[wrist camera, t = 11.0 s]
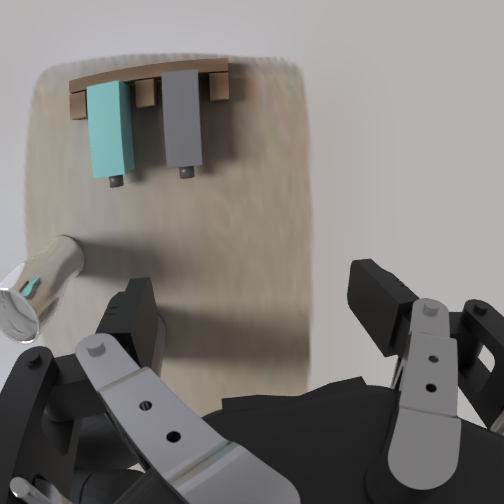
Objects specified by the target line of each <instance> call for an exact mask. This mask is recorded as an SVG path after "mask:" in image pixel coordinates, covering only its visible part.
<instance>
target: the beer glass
mask: <svg viewBox="0 0 504 504" xmlns="http://www.w3.org/2000/svg"><path fill="white" fill-rule="evenodd" d="M83 266H84V254H83V251H82V249H81V247H80V246H79V244H78V243H77V242H76V241H75V240H73V239H72V238H70V237H67V236H57V237H55V238H53V239H52V240H51V241H50V242H49V243H48V245H47V246H46V248H45V250H44V251H43V252H41V253H40V254H38V255H36V256H34V257H32V258H30V259H28V260H26V261H24V262H23V263H21V264H20V265H18V266H17V267H16V268H14V269H13V270H12V271H11V272H10V273H9V274H8V275H7V276H6V277H5V278H4V280H3V281H2V282H1V283H0V330H1V331H2V332H3V333H4V334H5V335H6V336H7V337H8V338H10V339H11V340H13V341H15V342H17V343H20V344H31V343H34V342H35V341H36V340H37V339H38V338H39V336H40V335H41V333H42V332H43V331H44V330H45V328H46V327H47V326H48V325H49V323H50V322H51V320H52V319H53V318H54V316H55V314H56V312H57V311H58V309H59V307H60V305H61V302H62V300H63V297H64V295H65V292H66V289H67V286H68V284H69V282H70V281H71V280H72V279H73V278H75V277H76V276H77V275H78V274H79V273H80V272H81V271H82V269H83Z"/></svg>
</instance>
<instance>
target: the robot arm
mask: <svg viewBox="0 0 504 504" xmlns="http://www.w3.org/2000/svg"><path fill="white" fill-rule="evenodd" d="M347 300H348V305H349V307H350V309H351V310H352V312H353V313H354V315H355V316H356V317H357V319H358V320H359V321H360V323H361V324H362V326H363V327H364V328H365V330H366V331H367V333H368V334H369V335H370V337H371V338H372V340H373V341H374V342H375V344H376V345H377V347H378V348H379V349H380V351H381V352H382V354H383V355H384V357H389V356H393V355H398V359H397V362H396V366H395V370H394V375H393V379H392V383H391V387H390V388H388V387H382V386H374V385H366V383H365V381H364V380H363V378H362V377H361V376H360V377H356V378H352V379H347V380H343V381H338V382H333V383H329V384H327V385H325V386H322V387H320V388H317V389H315V390H313V391H310V392H308V393H305V394H303V395H300V396H271V395H252V396H243V397H233V398H222V408H223V409H221V410H217V411H215V412H212V413H210V414H207V415H205V416H203V417H202V418H200V417H199V416H198V415H197V414H196V413H195V412H194V411H193V410H191V409H190V408H189V407H188V406H187V405H186V404H185V403H184V402H183V401H182V400H181V399H180V398H179V397H178V396H177V395H176V394H175V393H174V392H173V391H172V390H171V389H170V388H169V387H168V386H167V385H166V384H165V383H164V382H163V381H162V380H161V379H160V377H161V369H162V361H163V354H164V347H165V340H166V327H165V324H164V322H163V320H162V318H161V317H160V316H159V315H158V313H157V308H156V303H155V298H154V293H153V288H152V283H151V280H150V278H149V277H148V278H134V279H130V281H129V283H128V286H127V288H126V290H125V292H118V293H117V294H116V295H115V296H114V297H113V298H111V300H110V302H109V304H108V306H107V309H106V310H105V312H104V315H103V317H102V319H101V321H100V324H99V326H98V328H97V330H96V333H95V334H93V335H90V336H88V337H86V338H84V339H83V340H81V341H80V342H79V343H78V345H77V346H76V349H75V353H74V354H71V355H66V356H61V357H57V358H54V356H53V354H52V352H51V350H50V349H49V348H47V347H43V346H37V347H33V348H30V349H28V350H26V351H24V352H23V353H22V354H21V355H20V356H19V357H18V359H17V361H16V363H15V364H14V367H13V368H12V370H11V372H10V374H9V377H8V378H7V380H6V382H5V385H4V387H3V389H2V391H1V393H0V504H504V317H503V316H502V315H501V314H500V313H499V312H498V311H497V310H495V309H494V308H493V307H492V306H491V305H489V304H488V303H486V302H484V301H481V300H476V299H472V300H468V301H466V303H465V305H464V308H463V311H462V312H449V311H448V309H447V307H446V306H445V305H444V304H442V303H441V302H439V301H436V300H433V299H428V298H424V299H419V297H418V296H416V295H415V294H414V293H413V292H412V291H411V290H410V289H409V288H408V287H407V286H405V285H404V284H403V283H402V282H401V281H399V279H398V278H397V277H396V276H395V275H393V274H392V273H390V272H388V271H386V270H384V269H382V268H381V267H380V266H378V265H377V264H376V263H375V262H374V261H373V260H372V259H362V260H354V261H352V263H351V268H350V276H349V285H348V293H347ZM483 345H485V346H486V348H487V349H488V350H489V351H490V352H491V353H492V354H493V356H494V359H495V366H494V368H493V370H492V372H490V371H489V370H488V369H487V368H486V366H485V365H484V364H483V363H482V362H481V361H480V359H479V358H478V356H479V354H480V352H481V350H482V347H483ZM458 386H459V388H460V389H461V390H462V392H463V393H464V395H465V396H466V398H467V399H468V401H469V402H470V403H471V405H472V406H473V408H474V409H475V411H476V412H477V414H478V415H479V417H480V418H481V420H482V421H483V423H484V424H485V426H486V427H487V429H486V428H483V427H481V426H478V425H476V424H474V423H471V422H469V421H466V420H464V419H461V418H459V417H458V416H457V396H458V395H457V394H458ZM137 463H139V464H140V465H141V467H142V468H143V469H144V471H145V473H143V472H141V471H138V470H131V469H128V468H130V467H131V466H133V465H135V464H137Z"/></svg>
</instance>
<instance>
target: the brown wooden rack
mask: <svg viewBox="0 0 504 504" xmlns="http://www.w3.org/2000/svg"><path fill="white" fill-rule="evenodd" d="M194 69H198V74H199V76H209V86H210V102H213V101H228V100H229V78H228V58H220V59H201V60H188V61H177V62H168V63H159V64H152V65H145V66H138V67H132V68H126V69H121V70H115V71H110V72H105V73H100V74H96V75H91V76H87V77H83V78H79V79H75V80H71V81H69V91H70V93H71V95H70V119H71V120H80V119H85V118H88V108H87V87H89V86H93V85H98V84H102V83H107V82H112V81H117V80H119V81H121V82H123V83H125V84H127V85H128V84H134V83H135V88H136V107H137V108H140V109H142V108H149V107H157V106H158V101H157V82H156V81H155V80H162V73H165V72H173V71H183V70H194Z"/></svg>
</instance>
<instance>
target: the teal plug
mask: <svg viewBox="0 0 504 504" xmlns="http://www.w3.org/2000/svg"><path fill="white" fill-rule="evenodd" d="M87 108H88V126H89V139H90V151H91V161H92V170H93V178H94V179H95V178H102V177H108V176H109V181H110V187H111V188H113V187H119V186H123V185H124V182H123V174H126V173H128V172H129V171H131V170H133V169H134V168H135V162H134V151H133V138H132V123H131V104H130V86H129V85H127V84H125V83H123V82H121V81H119V80H117V81H112V82H107V83H102V84H98V85H93V86H89V87H87Z"/></svg>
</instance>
